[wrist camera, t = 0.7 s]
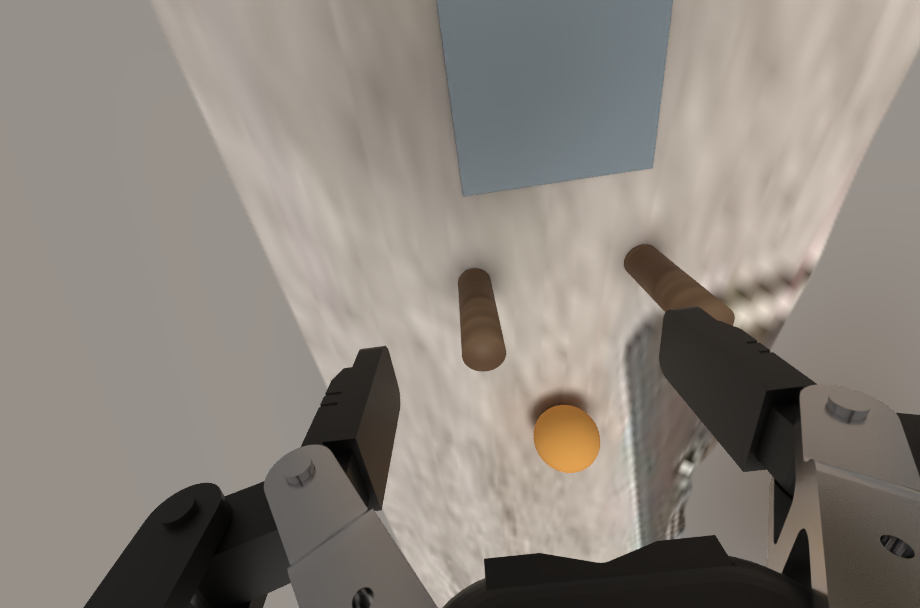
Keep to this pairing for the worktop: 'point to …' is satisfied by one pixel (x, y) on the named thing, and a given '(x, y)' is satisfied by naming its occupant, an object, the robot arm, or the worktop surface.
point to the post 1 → (479, 322)
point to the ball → (566, 438)
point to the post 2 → (672, 284)
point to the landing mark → (553, 88)
